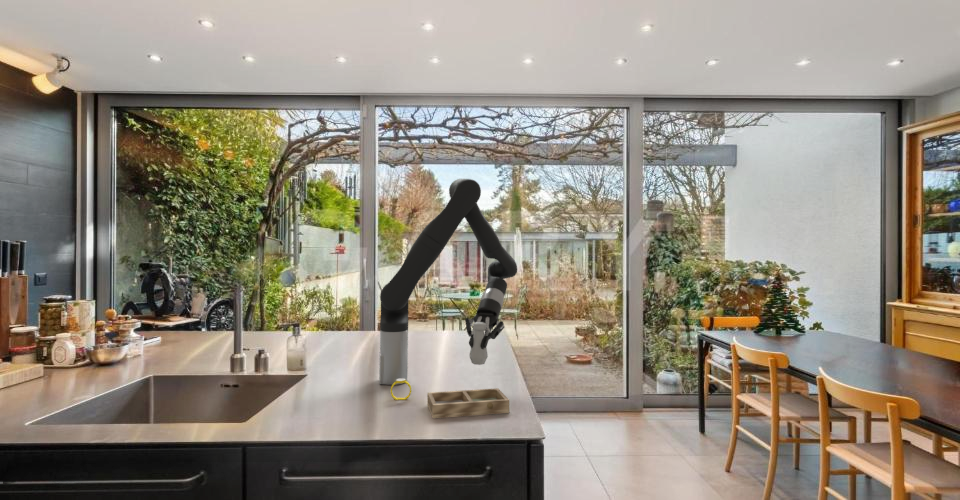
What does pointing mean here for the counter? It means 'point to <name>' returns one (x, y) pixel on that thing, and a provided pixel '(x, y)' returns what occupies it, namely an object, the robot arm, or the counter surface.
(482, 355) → the salt shaker
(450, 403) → the tray
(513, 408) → the counter surface
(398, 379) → the watch
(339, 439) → the counter surface
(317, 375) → the counter surface
